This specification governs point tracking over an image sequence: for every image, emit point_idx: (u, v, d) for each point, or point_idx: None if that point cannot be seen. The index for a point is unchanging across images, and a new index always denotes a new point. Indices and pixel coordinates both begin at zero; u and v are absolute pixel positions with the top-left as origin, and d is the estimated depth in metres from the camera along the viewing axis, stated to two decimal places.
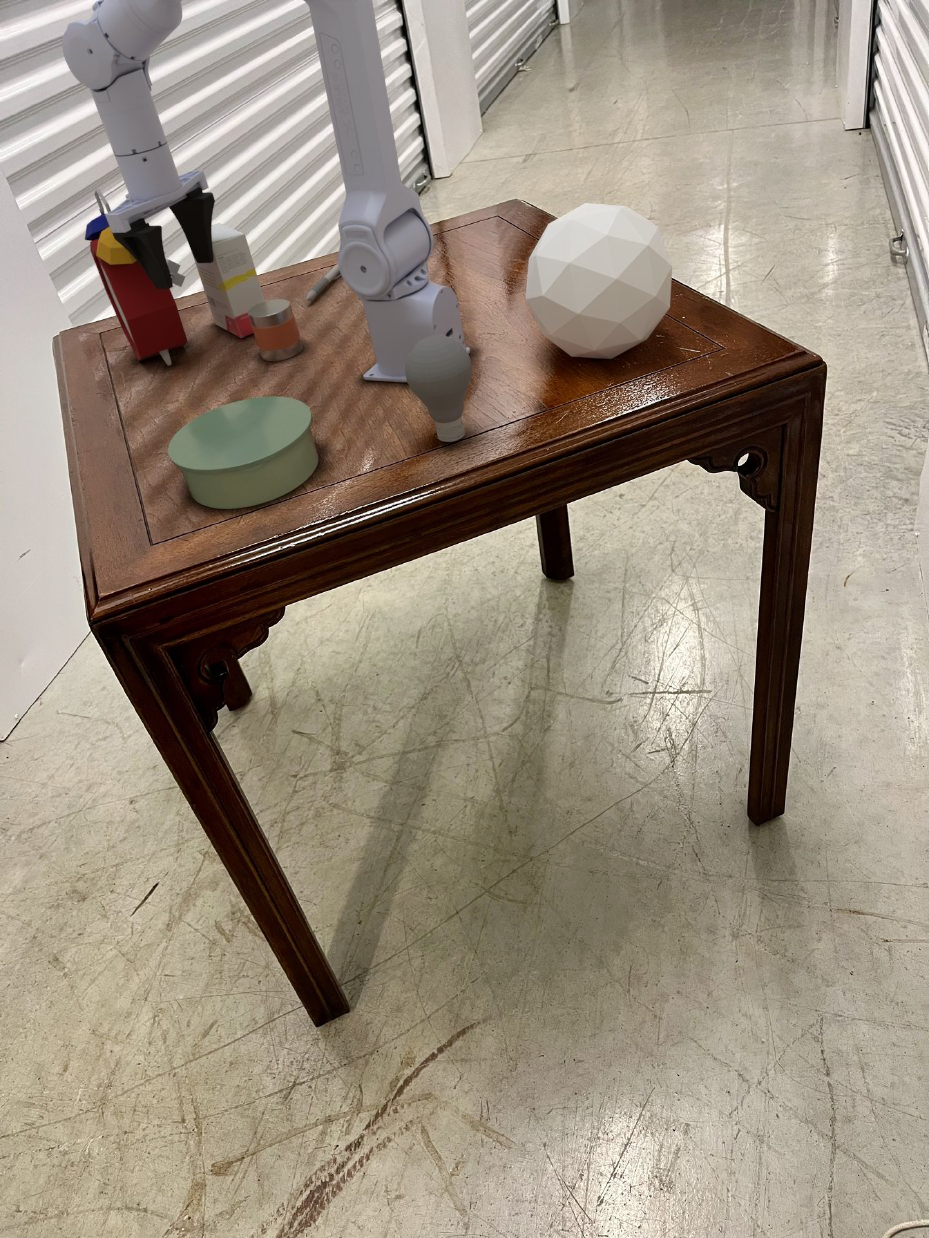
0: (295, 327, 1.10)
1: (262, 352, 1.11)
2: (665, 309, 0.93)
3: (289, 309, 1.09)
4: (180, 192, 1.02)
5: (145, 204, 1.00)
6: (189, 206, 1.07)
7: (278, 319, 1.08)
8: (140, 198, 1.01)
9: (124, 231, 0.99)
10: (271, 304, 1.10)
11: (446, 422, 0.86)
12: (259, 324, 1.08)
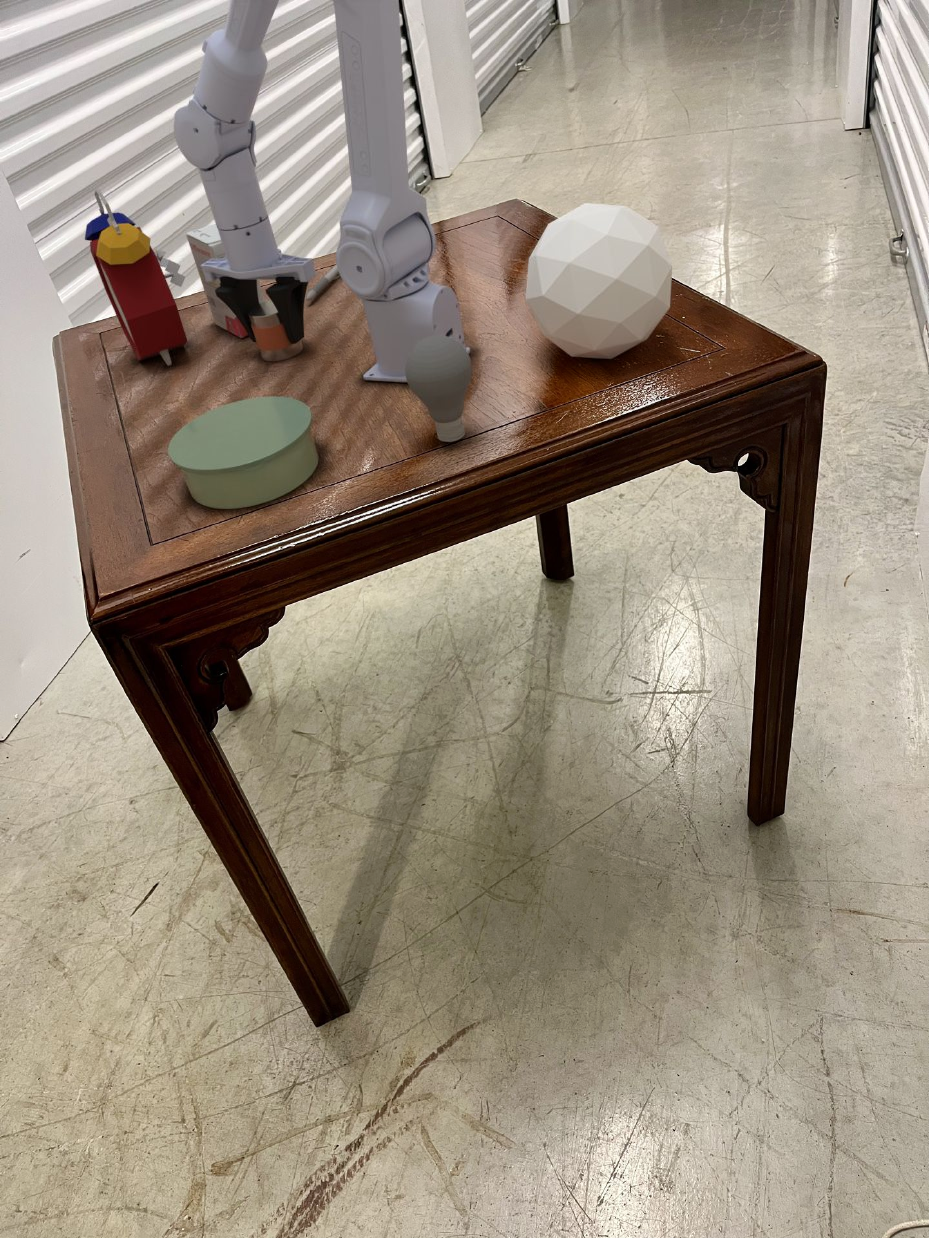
0: None
1: (262, 352, 1.11)
2: (665, 309, 0.93)
3: None
4: (243, 275, 1.04)
5: (218, 269, 1.07)
6: None
7: (278, 319, 1.08)
8: None
9: None
10: (271, 304, 1.10)
11: (446, 422, 0.86)
12: (259, 324, 1.08)
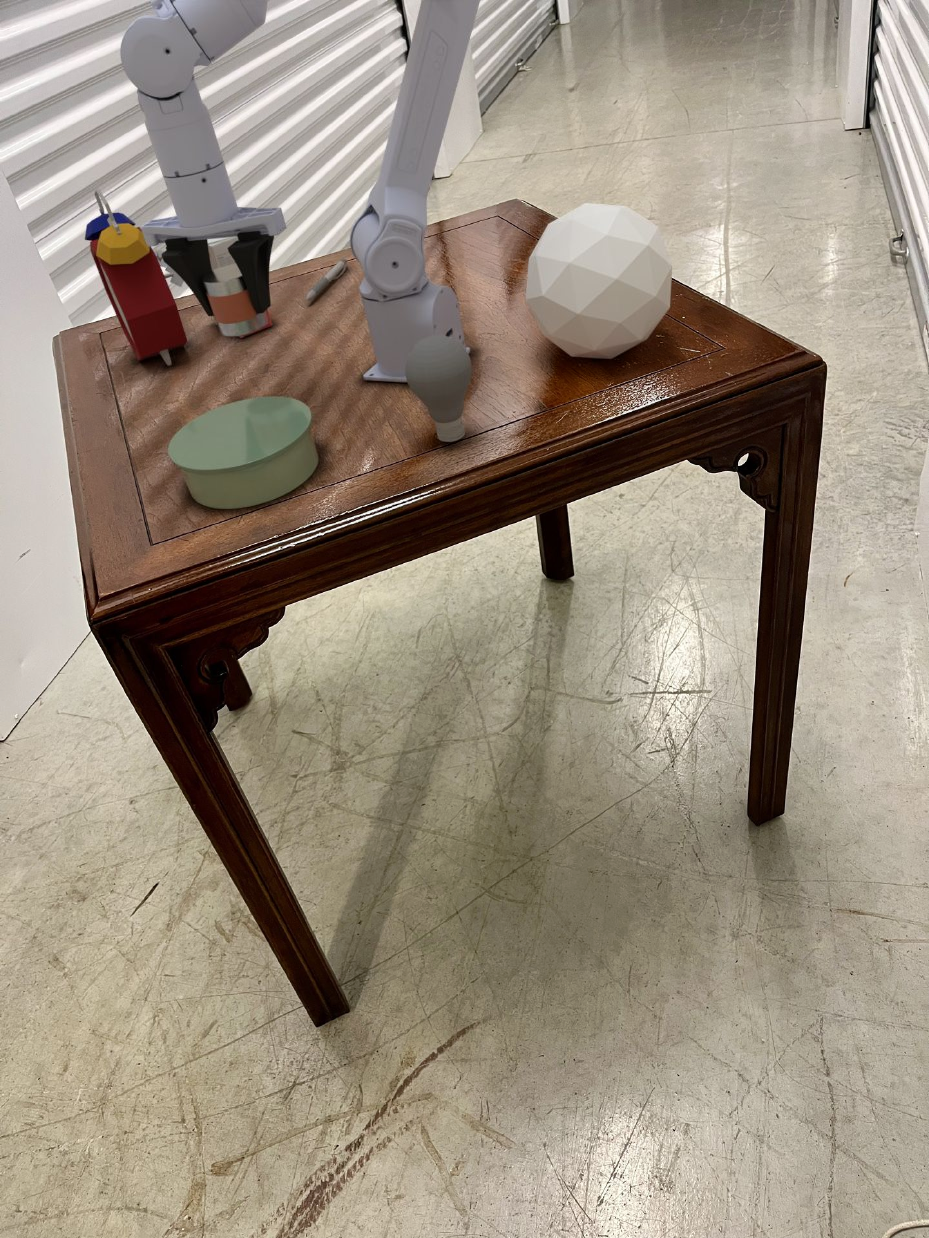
0: None
1: (222, 326, 0.94)
2: (665, 309, 0.93)
3: None
4: (199, 231, 0.88)
5: (165, 228, 0.90)
6: None
7: (241, 284, 0.92)
8: None
9: (147, 245, 0.92)
10: (229, 269, 0.94)
11: (446, 422, 0.86)
12: (218, 292, 0.92)
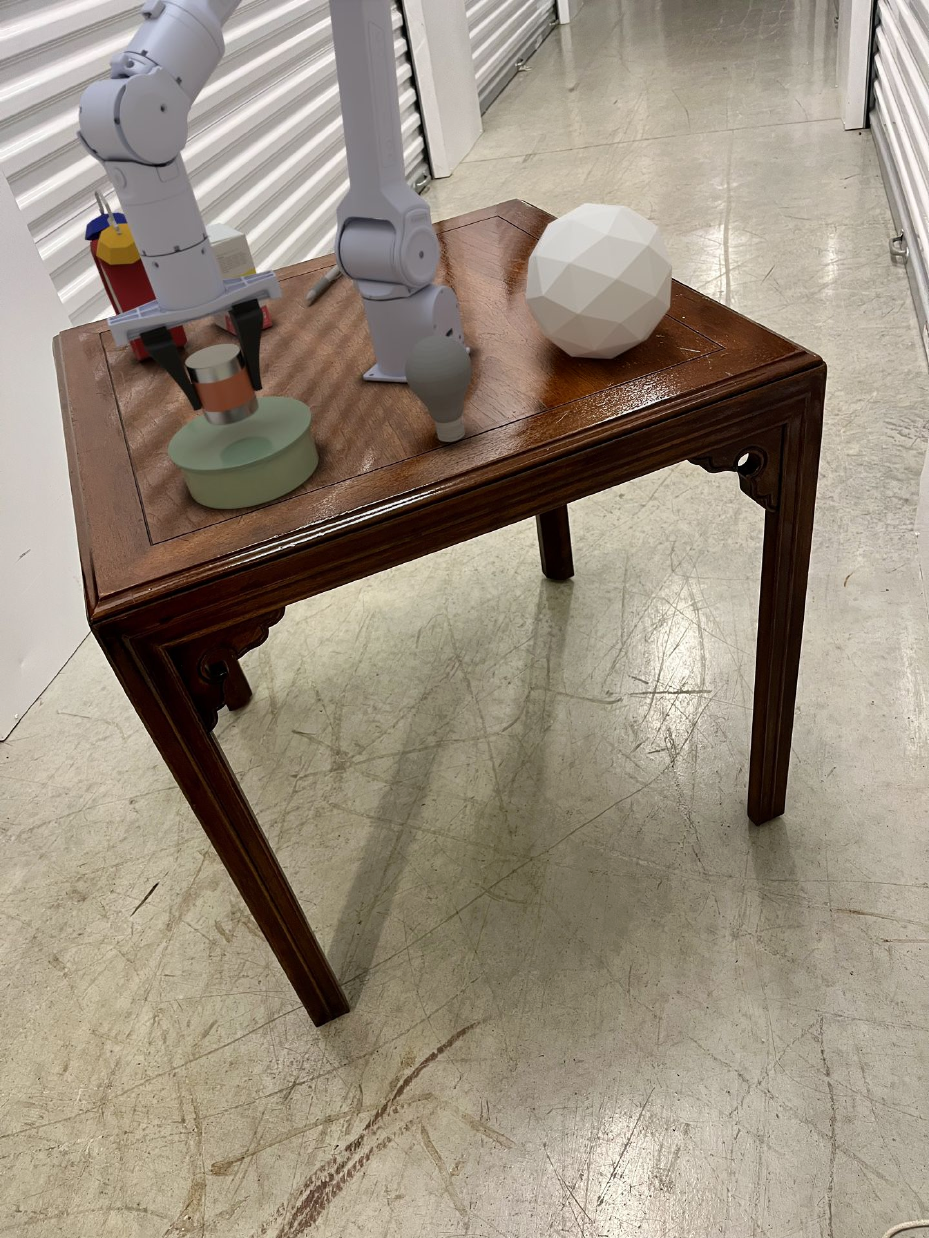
0: None
1: (223, 415, 0.84)
2: (665, 309, 0.93)
3: None
4: (204, 309, 0.78)
5: (149, 318, 0.78)
6: (234, 321, 0.81)
7: (241, 362, 0.83)
8: (159, 305, 0.79)
9: None
10: (208, 353, 0.84)
11: (446, 422, 0.86)
12: (221, 376, 0.82)
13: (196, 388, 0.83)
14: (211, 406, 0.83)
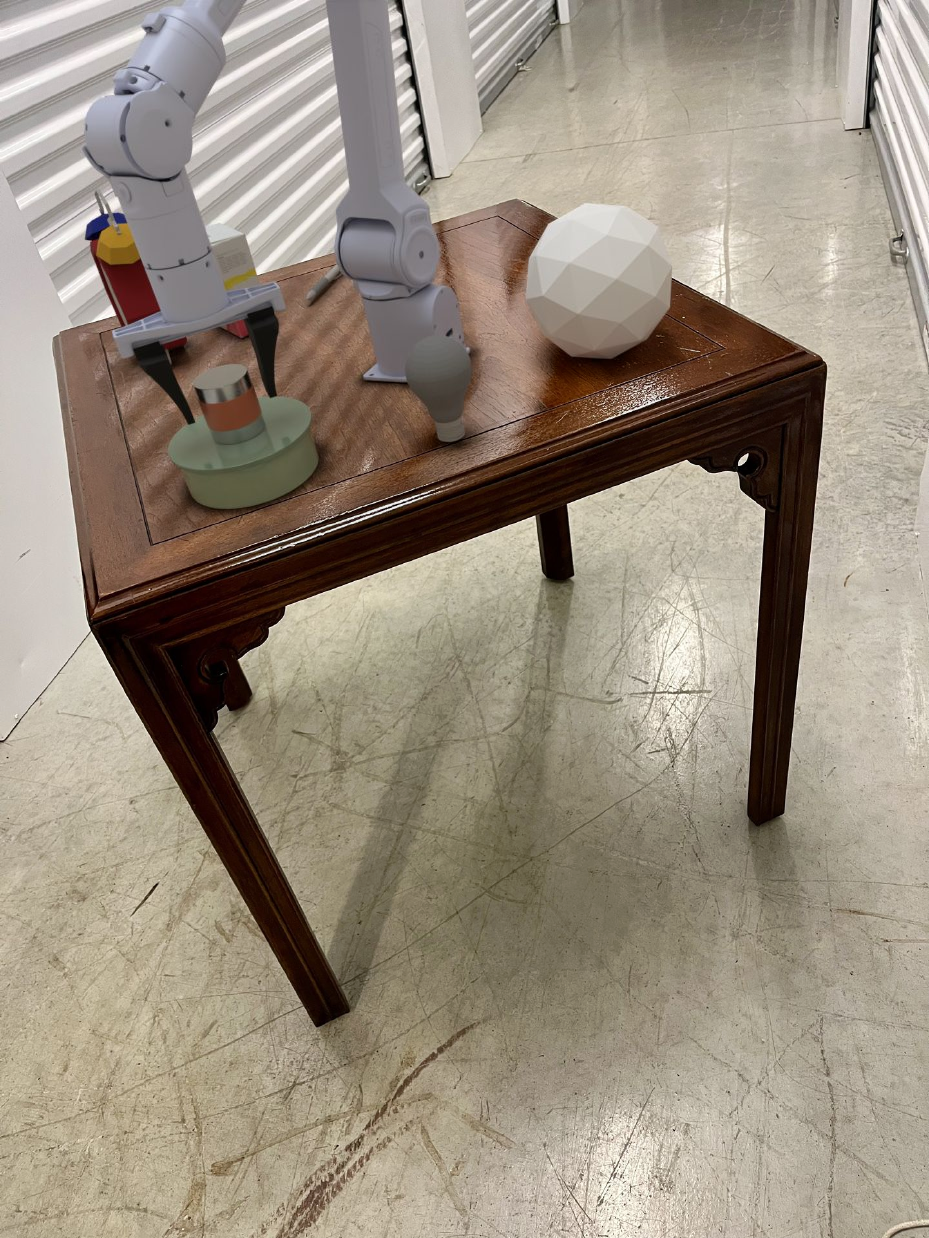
0: None
1: (230, 434, 0.85)
2: (665, 309, 0.93)
3: None
4: (208, 321, 0.78)
5: (154, 330, 0.78)
6: (249, 329, 0.82)
7: (247, 382, 0.84)
8: (163, 317, 0.79)
9: None
10: (215, 373, 0.85)
11: (446, 422, 0.86)
12: (228, 396, 0.83)
13: (203, 408, 0.84)
14: (218, 426, 0.85)
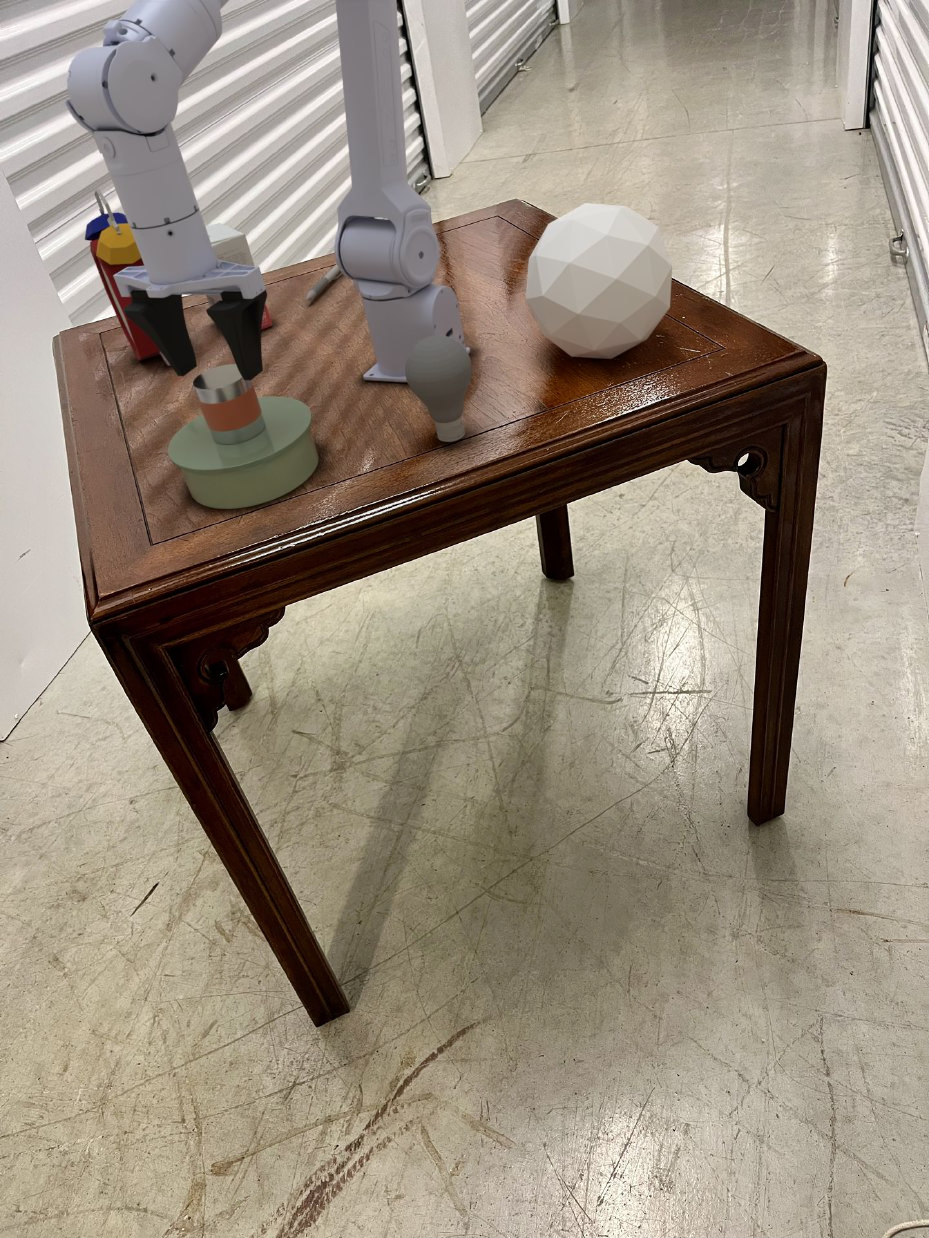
0: None
1: (230, 434, 0.85)
2: (665, 309, 0.93)
3: None
4: None
5: None
6: (166, 300, 0.82)
7: (247, 382, 0.84)
8: (211, 267, 0.77)
9: (265, 287, 0.77)
10: (215, 373, 0.85)
11: (446, 422, 0.86)
12: (228, 396, 0.83)
13: (203, 408, 0.84)
14: (218, 426, 0.85)
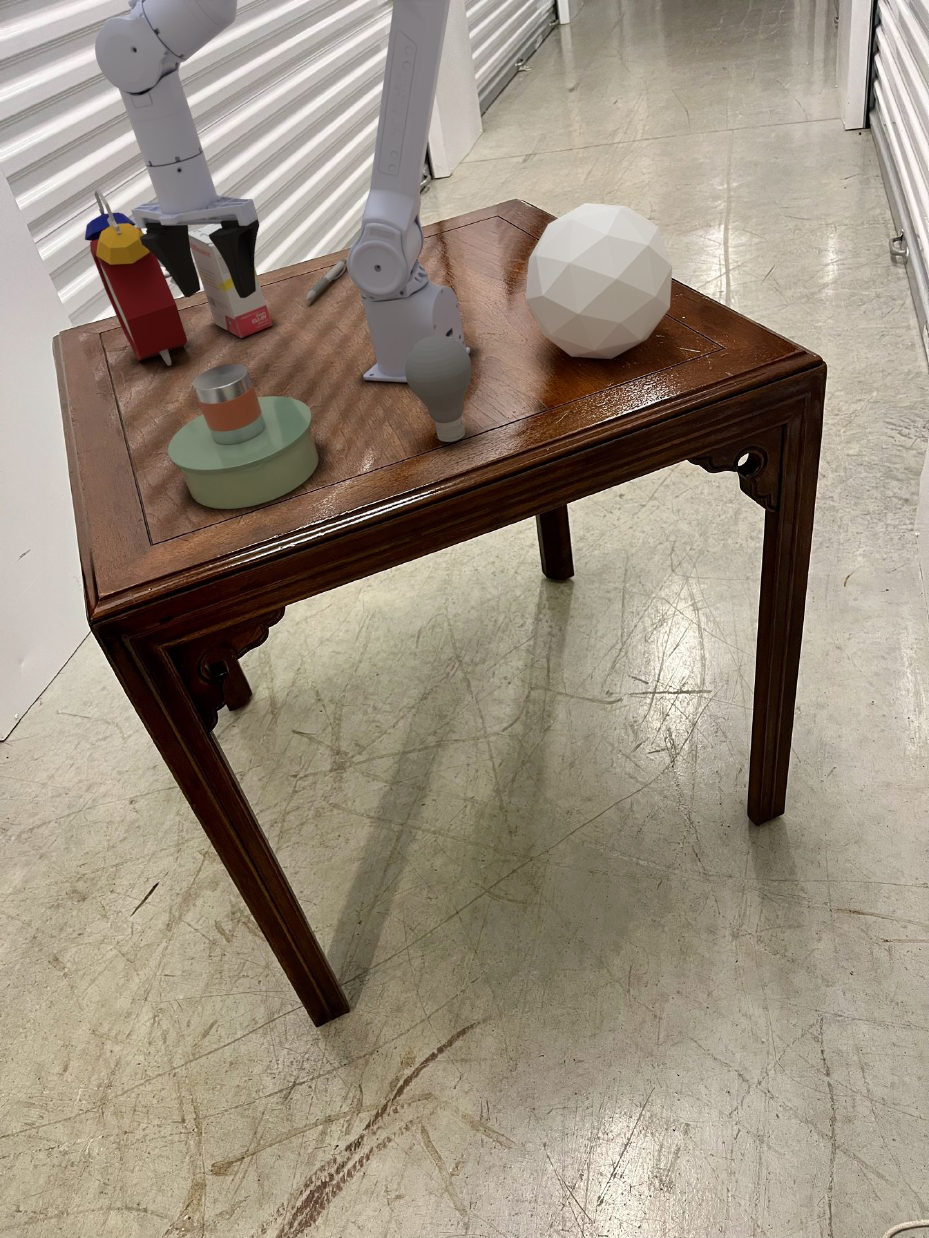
0: None
1: (230, 434, 0.85)
2: (665, 309, 0.93)
3: None
4: None
5: (231, 198, 0.94)
6: (175, 231, 0.98)
7: (247, 382, 0.84)
8: (213, 201, 0.94)
9: (257, 217, 0.93)
10: (215, 373, 0.85)
11: (446, 422, 0.86)
12: (228, 396, 0.83)
13: (203, 408, 0.84)
14: (218, 426, 0.85)
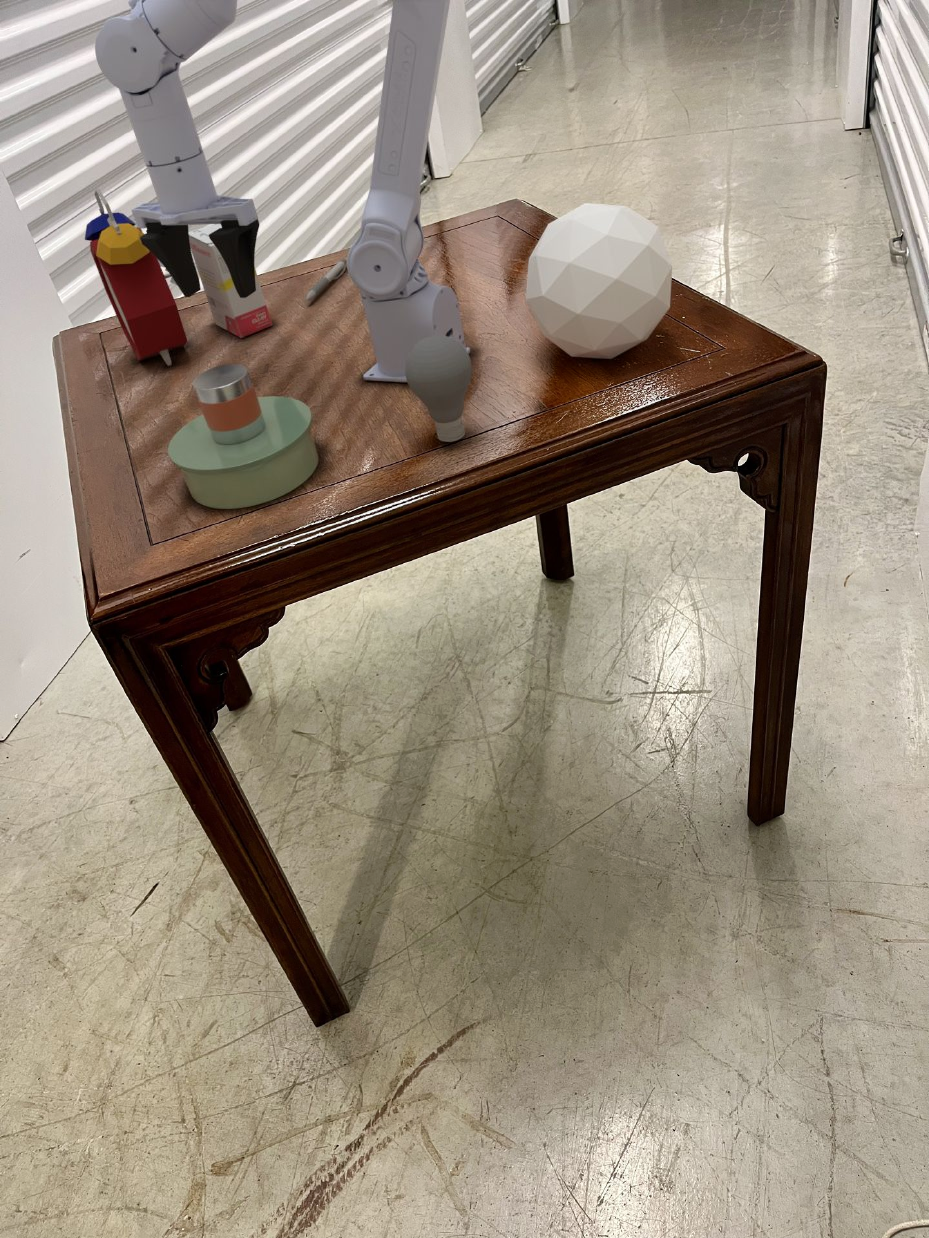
0: None
1: (230, 434, 0.85)
2: (665, 309, 0.93)
3: None
4: None
5: (231, 198, 0.94)
6: (175, 231, 0.98)
7: (247, 382, 0.84)
8: (213, 200, 0.94)
9: (257, 217, 0.93)
10: (215, 373, 0.85)
11: (446, 422, 0.86)
12: (228, 396, 0.83)
13: (203, 408, 0.84)
14: (218, 426, 0.85)
